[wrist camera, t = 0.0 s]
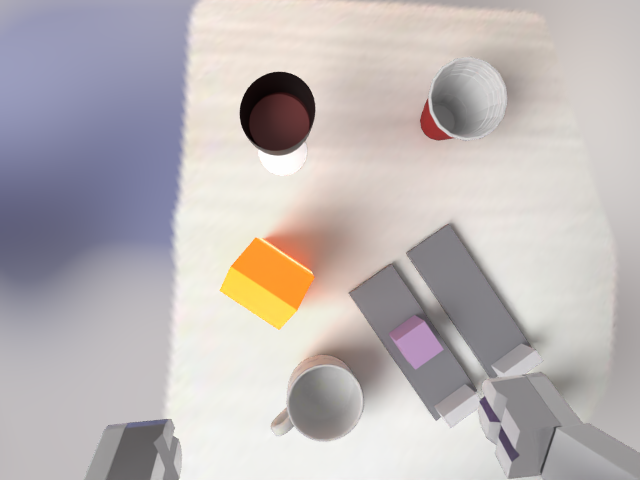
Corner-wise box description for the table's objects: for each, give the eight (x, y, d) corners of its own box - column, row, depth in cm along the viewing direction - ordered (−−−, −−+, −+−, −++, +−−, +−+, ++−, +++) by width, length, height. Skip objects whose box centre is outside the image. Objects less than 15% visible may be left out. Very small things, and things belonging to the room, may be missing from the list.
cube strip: (474, 388, 67) (489, 400, 62) (433, 417, 66) (445, 432, 61) (390, 264, 66) (398, 265, 61) (348, 293, 65) (353, 297, 60)
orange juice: (264, 237, 65) (250, 235, 45) (311, 269, 65) (318, 281, 45) (235, 279, 65) (208, 296, 45) (283, 311, 65) (277, 342, 45)
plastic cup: (418, 167, 66) (445, 150, 54) (395, 102, 66) (417, 71, 54) (480, 144, 67) (521, 123, 55) (458, 80, 67) (493, 45, 55)
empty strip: (529, 348, 67) (548, 356, 62) (489, 377, 67) (505, 388, 62) (446, 224, 66) (459, 223, 61) (405, 253, 66) (414, 254, 61)
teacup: (341, 339, 66) (348, 352, 58) (365, 403, 66) (375, 426, 58) (258, 372, 65) (252, 390, 57) (282, 437, 65) (280, 464, 57)
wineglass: (318, 138, 65) (328, 93, 46) (292, 188, 65) (292, 164, 45) (272, 114, 65) (263, 58, 45) (247, 164, 65) (225, 129, 45)
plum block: (432, 341, 65) (443, 349, 60) (406, 359, 65) (415, 369, 60) (414, 314, 65) (424, 320, 60) (388, 333, 65) (396, 341, 60)
